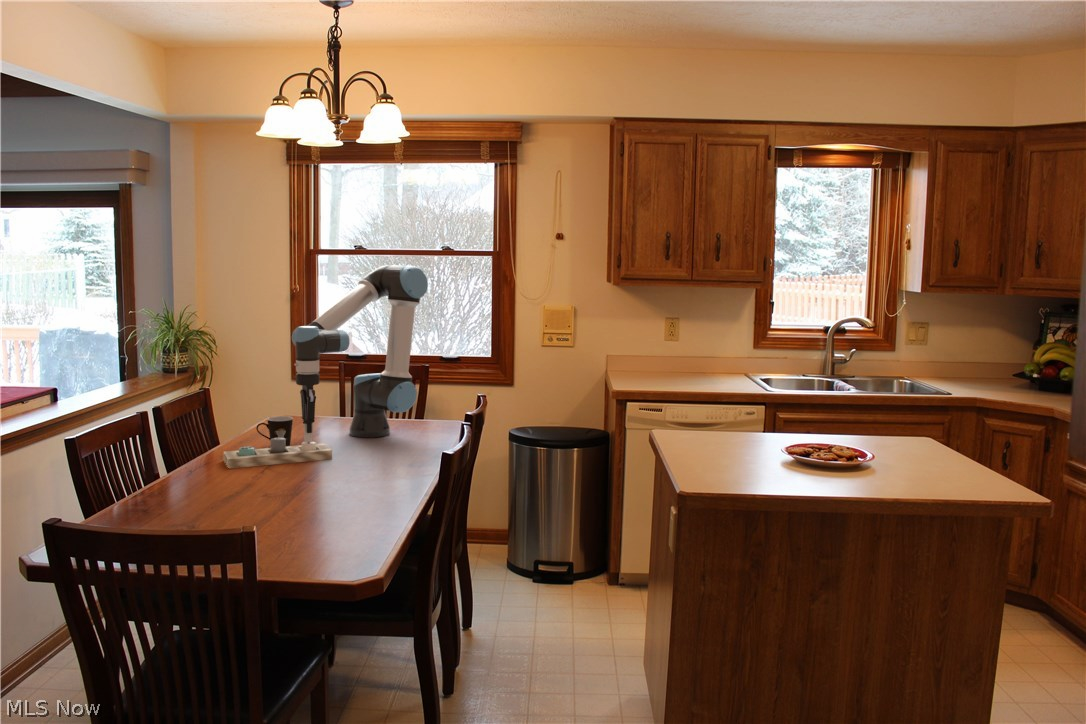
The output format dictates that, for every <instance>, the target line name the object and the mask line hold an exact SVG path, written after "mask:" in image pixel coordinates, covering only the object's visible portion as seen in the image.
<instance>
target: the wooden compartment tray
mask: <svg viewBox="0 0 1086 724" xmlns="http://www.w3.org/2000/svg"><path fill="white" fill-rule="evenodd" d="M222 455H223V462H224V461H225V462H224V464H225V463H226V464H225V466H226V465H227V466H226V467H228V468H229V469H237V468H238V469H239V467H240V468H249V467H258V466H259V467H260V466H269V465H270V466H271V465H282V464H292V463H301V462H313V461H324V460H326V461H327V460H332V459H333V450H332V448H330V447H329V446H328V445H327V444H326V443H316V450H308V451H301V444H299V445H290V446H286V452H285V453H274V454H271V447H264V448H254V455H251V456H239V450H228V451H223V454H222ZM228 468H227V469H228Z"/></svg>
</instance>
